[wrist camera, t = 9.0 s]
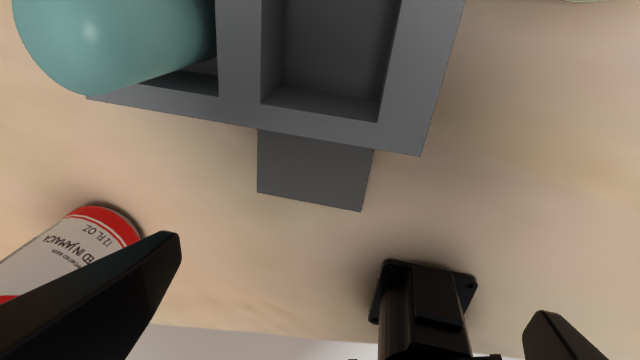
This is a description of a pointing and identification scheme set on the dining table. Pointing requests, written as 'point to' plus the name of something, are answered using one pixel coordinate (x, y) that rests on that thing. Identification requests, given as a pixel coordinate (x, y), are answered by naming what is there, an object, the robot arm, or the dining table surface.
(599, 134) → the dining table surface
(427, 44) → the dock
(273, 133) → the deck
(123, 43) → the plug
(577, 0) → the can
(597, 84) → the dining table surface
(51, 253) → the beer can
